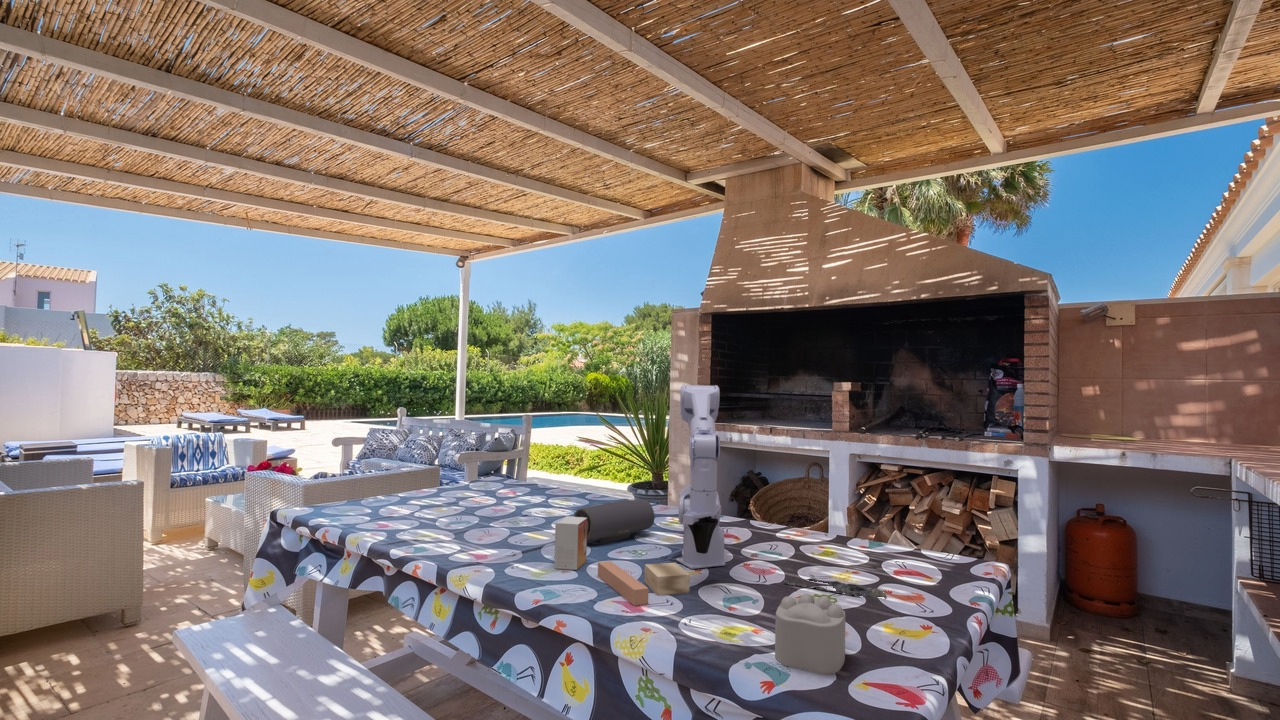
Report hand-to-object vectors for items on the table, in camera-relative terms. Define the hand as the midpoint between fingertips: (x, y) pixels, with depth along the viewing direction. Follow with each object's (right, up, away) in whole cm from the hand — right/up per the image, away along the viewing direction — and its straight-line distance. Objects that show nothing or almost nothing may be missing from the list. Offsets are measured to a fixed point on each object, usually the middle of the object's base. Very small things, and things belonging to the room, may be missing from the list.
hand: (702, 552), depth 138 cm
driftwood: (+28, -8, -2) cm, 30 cm away
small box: (-30, -6, +11) cm, 32 cm away
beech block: (-8, -7, -4) cm, 11 cm away
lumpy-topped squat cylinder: (+14, -6, -35) cm, 39 cm away
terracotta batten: (-17, -6, -6) cm, 19 cm away
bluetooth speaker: (-21, -8, +37) cm, 43 cm away
